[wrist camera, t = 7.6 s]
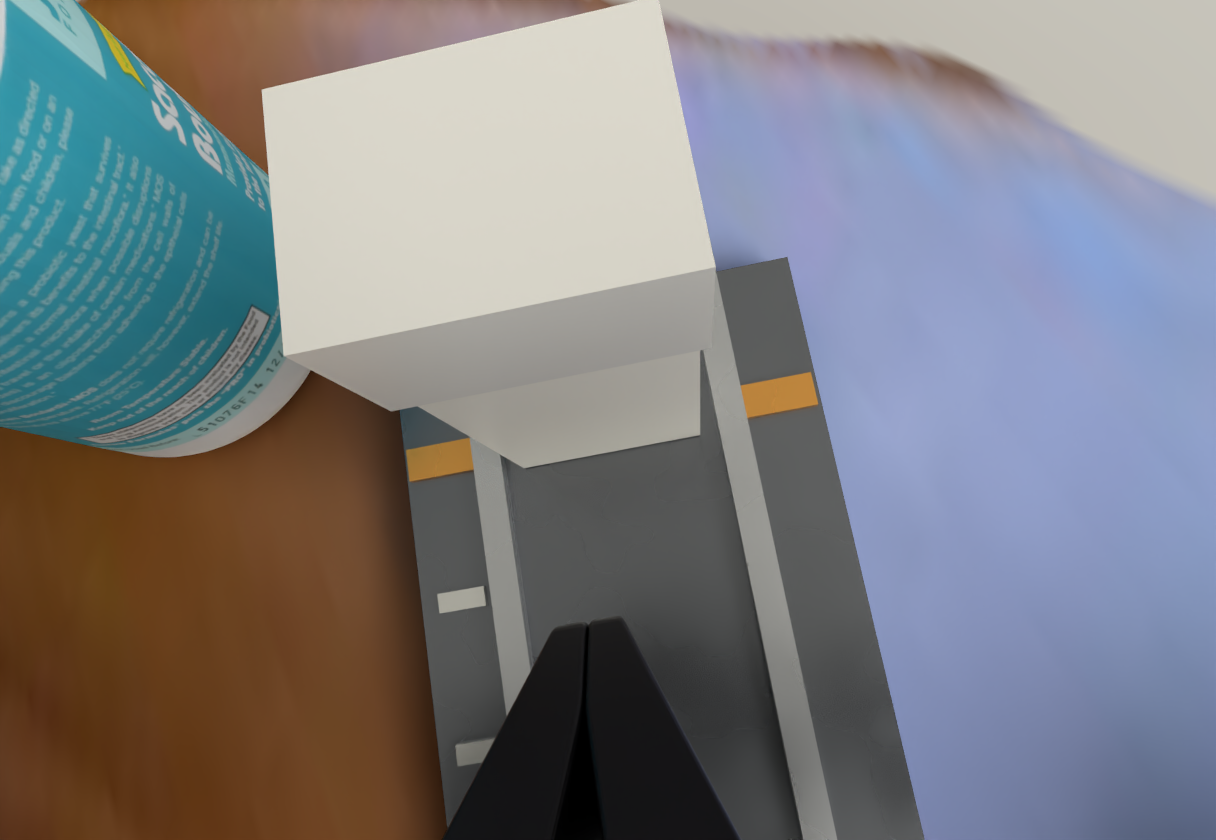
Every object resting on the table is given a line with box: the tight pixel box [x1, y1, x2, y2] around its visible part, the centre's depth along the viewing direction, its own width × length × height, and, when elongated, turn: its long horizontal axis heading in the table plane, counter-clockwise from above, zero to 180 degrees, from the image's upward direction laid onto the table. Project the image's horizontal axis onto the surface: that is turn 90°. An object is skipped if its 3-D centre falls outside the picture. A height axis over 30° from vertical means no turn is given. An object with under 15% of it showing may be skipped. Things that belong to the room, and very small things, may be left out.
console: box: [400, 257, 924, 840], centre depth 16 cm, size 14×9×1 cm, turn 10°
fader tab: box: [262, 0, 716, 468], centre depth 12 cm, size 3×4×10 cm
